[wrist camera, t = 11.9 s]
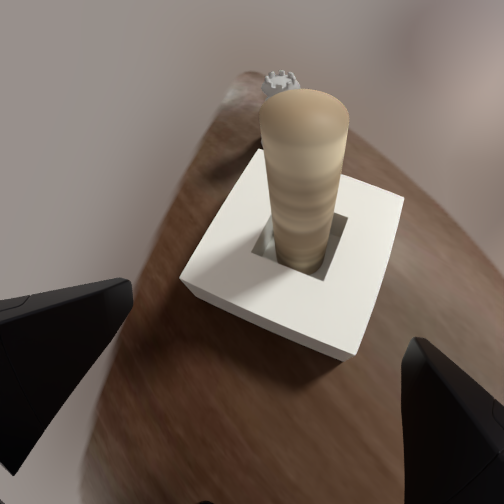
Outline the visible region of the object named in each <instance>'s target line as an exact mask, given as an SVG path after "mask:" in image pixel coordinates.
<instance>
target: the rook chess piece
mask: <svg viewBox="0 0 504 504" xmlns="http://www.w3.org/2000/svg"><path fill="white" fill-rule="evenodd" d="M261 89H262V91H263V92H264V93H265V94H266V95H267V96H268V97H267V98H266V100H268V99H269V98H270V97H272V96H274V95H276V94H278V93H280V92H284V91H288V90H294V89H300V84H299V83H298V82H297V81H296V77H294V74H293V73H291V72H289V73H288V75H285V71H284V70H279V75H275V73H274V72H270V73H269V76H265V82H264V83H263V84H262V87H261ZM261 137H262V135H261ZM261 144H262V146H263V142H262V139H261Z"/></svg>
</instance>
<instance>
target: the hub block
mask: <svg viewBox="0 0 504 504" xmlns="http://www.w3.org/2000/svg"><path fill="white" fill-rule="evenodd" d="M403 201H404V197H401V196H399V195H396V194H394V193H391V192H389V191H386V190H383V189H381V188H378V187H376V186H373V185H370V184H368V183H365V182H362V181H359V180H357V179H354V178H351V177H348V176H345V175H342V174H341V176H340V182H339V187H338V193H337V198H336V203H335V209H334V214H333V219H332V224H331V229H330V234H329V238H328V243H327V248H326V252H325V257H324V261H323V263H322V265H321V267H320V268H319V269H318V270H317V271H316V272H315V273H313V274H311V275H306V274H303V273H301V272H298V271H296V270H293V269H291V268H288V267H286V266H283V265H281V264H278V261H277V258H276V249H275V241H274V232H273V223H272V215H271V206H270V198H269V190H268V182H267V174H266V166H265V158H264V150H261V149H258V150H257V152H256V153H255V155H254V156H253V158H252V159H251V161H250V162H249V164H248V166H247V167H246V169H245V170H244V172H243V173H242V175H241V177H240V178H239V180H238V181H237V183H236V184H235V186H234V188H233V189H232V191H231V192H230V194H229V196H228V197H227V199H226V200H225V202H224V204H223V205H222V207H221V208H220V210H219V212H218V213H217V215H216V217H215V218H214V220H213V221H212V223H211V225H210V226H209V228H208V230H207V231H206V233H205V235H204V236H203V238H202V240H201V241H200V243H199V245H198V246H197V248H196V250H195V251H194V253H193V255H192V257H191V258H190V260H189V262H188V263H187V265H186V267H185V269H184V270H183V272H182V274H181V275H180V277H179V278H180V280H181V281H182V282H183V283H184V284H185V285H186V286H187V287H188V289H189V290H190V291H191V292H192V293H193V294H194V295H195V296H196V297H198V298H200V299H202V300H204V301H206V302H208V303H210V304H212V305H214V306H216V307H218V308H221V309H223V310H225V311H227V312H229V313H231V314H233V315H236V316H238V317H240V318H242V319H244V320H246V321H249V322H251V323H253V324H255V325H257V326H260V327H262V328H264V329H266V330H269V331H271V332H273V333H275V334H278V335H280V336H282V337H285V338H287V339H289V340H292V341H294V342H296V343H299V344H301V345H303V346H306V347H308V348H311V349H313V350H315V351H318V352H320V353H323V354H325V355H328V356H330V357H333V358H335V359H338V360H340V361H343V362H344V361H346V360H348V359H350V358H351V357H353V356H355V355H356V353H357V350H358V348H359V345H360V343H361V340H362V337H363V335H364V332H365V329H366V327H367V324H368V321H369V318H370V316H371V313H372V310H373V307H374V304H375V301H376V298H377V295H378V292H379V289H380V286H381V283H382V280H383V276H384V273H385V270H386V266H387V263H388V260H389V256H390V253H391V249H392V245H393V242H394V238H395V234H396V230H397V226H398V222H399V218H400V214H401V210H402V206H403Z"/></svg>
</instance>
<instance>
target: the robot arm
mask: <svg viewBox="0 0 504 504" xmlns="http://www.w3.org/2000/svg"><path fill="white" fill-rule="evenodd" d="M132 307H133V294H132V284H131V282H130V281H129V280H127V279H124V278H114V279H109V280H104V281H99V282H94V283H89V284H84V285H78V286H73V287H68V288H63V289H58V290H53V291H48V292H43V293H38V294H33V295H31V296H30V295H27V296H22V297H17V298H11V299H5V300H0V464H1V465H2V466H3V467H4V468H5V469H6V470H7V471H8V472H9V473H10V474H11V475H12V476H14V475H15V474H16V473H17V472H18V470H19V468H20V467H21V465H22V464H23V462H24V461H25V459H26V458H27V456H28V455H29V453H30V452H31V450H32V449H33V447H34V446H35V444H36V443H37V441H38V440H39V438H40V437H41V436H42V434H43V432H44V431H45V429H46V428H47V427H48V425H49V424H50V422H51V421H52V419H53V418H54V417H55V415H56V414H57V413H58V411H59V410H60V408H61V407H62V406H63V404H64V403H65V401H66V400H67V399H68V397H69V396H70V395H71V393H72V392H73V391H74V389H75V388H76V386H77V385H78V384H79V382H80V381H81V380H82V378H83V377H84V376H85V374H86V373H87V372H88V370H89V369H90V368H91V366H92V365H93V364H94V363H95V361H96V360H97V359H98V357H99V356H100V355H101V353H102V352H103V351H104V349H105V348H106V347H107V346H108V344H109V343H110V342H111V340H112V339H113V337H114V336H115V334H116V333H117V331H118V330H119V328H120V326H121V325H122V323H123V322H124V320H125V319H126V317H127V315H128V314H129V312H130V311H131V309H132ZM401 414H402V426H403V442H404V470H405V499H404V504H504V406H503V405H502V404H501V403H500V402H498V401H497V400H496V399H494V397H493V396H492V395H491V394H489V393H488V392H487V391H486V390H485V389H484V388H483V387H482V386H480V385H479V384H478V383H477V382H476V381H475V380H474V379H472V378H471V377H470V376H469V375H468V374H467V373H466V372H464V371H463V370H462V369H461V368H460V367H459V366H457V365H456V364H455V363H454V362H453V361H452V360H450V359H449V358H448V357H447V356H446V355H445V354H443V353H442V352H441V351H440V350H439V349H437V348H436V347H435V346H434V345H433V344H432V343H430V342H429V341H428V340H427V339H425V338H420V337H413V338H412V339H411V340H410V343H409V345H408V347H407V350H406V352H405V354H404V357H403V359H402V364H401ZM0 504H4V503H3V502H2V501H1V500H0ZM200 504H213V503H211V502H209V501H203V502H201V503H200Z"/></svg>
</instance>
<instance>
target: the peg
mask: <svg viewBox="0 0 504 504" xmlns="http://www.w3.org/2000/svg"><path fill="white" fill-rule="evenodd" d="M259 120H260V127H261V135H262V142H263V150H264V158H265V166H266V174H267V182H268V190H269V198H270V206H271V215H272V223H273V232H274V241H275V249H276V258H277V261H278V264H281V265H283V266H286V267H288V268H291V269H293V270H296V271H298V272H301V273H303V274H306V275H311V274H313V273H315V272H316V271H317V270H318V269H319V268H320V267H321V265H322V263H323V261H324V257H325V252H326V248H327V243H328V238H329V234H330V229H331V224H332V219H333V214H334V209H335V203H336V198H337V193H338V187H339V182H340V176H341V170H342V164H343V158H344V152H345V146H346V139H347V132H348V126H349V114H348V111H347V109H346V107H345V106H344V105H343V104H342V103H341V102H340V101H339V100H337V99H336V98H335V97H333V96H331V95H328V94H326V93H324V92H320V91H316V90H310V89H294V90H288V91H284V92H280V93H278V94H276V95H274V96H272V97H270V98H269V99H268V100H266V101H265V102H264V104H263V105H262V107H261V108H260V111H259Z"/></svg>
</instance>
